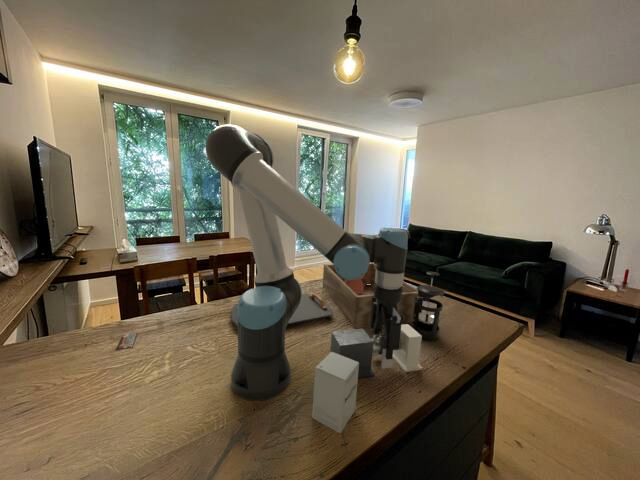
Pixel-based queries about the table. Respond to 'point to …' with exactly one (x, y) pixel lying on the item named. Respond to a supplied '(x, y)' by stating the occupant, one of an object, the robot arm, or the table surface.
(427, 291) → the french press
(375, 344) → the rod
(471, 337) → the table surface
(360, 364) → the dark grey block
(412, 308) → the box
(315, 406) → the supplement box
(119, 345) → the chocolate bar
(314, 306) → the serving board
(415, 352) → the socket
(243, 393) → the robot arm
